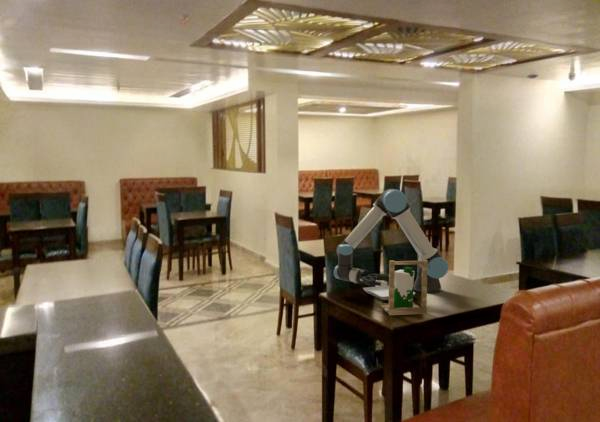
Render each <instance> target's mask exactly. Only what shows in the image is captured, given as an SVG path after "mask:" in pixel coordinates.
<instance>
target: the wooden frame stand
mask: <svg viewBox="0 0 600 422" xmlns="http://www.w3.org/2000/svg"><path fill="white" fill-rule="evenodd" d="M388 263H389V264H388V268H389V269H388V275H389V281H388V286H389V300H388V303H386V302H383V303H382V302H381V303H379V306H380V307H381V308H382V309H383V310H384V311H385V312H386V313H387V314H388V315H389V316H402V315H403V316H406V315H407V316H409V315H427V314H428V308H427V295H428V293H427V266H428V260H422V261H418V260H399V261H398V260H397V261H396V260H393V259H392V260H389V261H388ZM418 264H422V280H421V292H420V306H419V305H418V304H417V303H415V302H413V307H412V308H394V274H395V271H396V270H395V268H396V267H395V266H396V265H397V266H398V265H399V266H401V265H406V266H407V265H418Z"/></svg>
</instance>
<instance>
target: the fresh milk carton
mask: <svg viewBox="0 0 600 422" xmlns="http://www.w3.org/2000/svg"><path fill="white" fill-rule="evenodd" d="M414 278H415V270H413V267H411V266H405V267H403V269H398V270H395V274H394V308H412V307H413V303H414V295H413V292H414V283H415V279H414Z"/></svg>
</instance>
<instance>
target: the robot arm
mask: <svg viewBox="0 0 600 422" xmlns="http://www.w3.org/2000/svg"><path fill="white" fill-rule="evenodd" d="M407 199H408V198H407V196H406V195H405V193H404V192H403V191H401V190H399V189H393V188H387V189H386V190H384V191H383V192H381V194H380V195H378V198H377V199H376V200H375V201H374V202H373V203H372V206H373V207H371V209H370V210H369V211H368V212H367V214H366V215H365V216H364V217H363V218H362V219H361V220H360V221H359V223H358V224H357V225H356V226H355V227H354V228H353V229H352V231H351V232H349V234H348V236H346V238H344V240H343V241H342V242H341V243H340V244H338V245H337V247H336V250H335V251H336V252H335V253H336V255H337V256H338V259H337V260H338V261H337V262H338V264H337V265H336V266H335V267H334V269H333V276H334V278H335V279H338V280H341V281H346V282H351V283H354V284H360V285H367V286H368V287H377V286H380V287H385V288H387V286H388V282H389V274H383V273H370V272H369V271H368V270H366V269H361V268H357V267H356V268H355V267H353V251H354V250H355V249H356V248H357V246H358V245H360V243H361V242H362V241H363V240H364V238H365V237H366V236H367V235H368V234H369V233H370V232H371V230H372V229H374V227H375V226H376V225H377V223H379V221H380V220H381V219H382V218H383V217H384V216H387V215H388V214H389V216H390V217H391V219H394V220H395V221H396V222H397V224H398V225H399V227H400V228H401V230H402V231H403V233H404V234H405V236H406V238H407V239H408V240H409V242H410V244H411V245H412V247H413V249H414V250H415V252H416V253H417V261H422V260H428V266H427V294H434V293H435V294H436V293H440V292H442V285H441V282H440V279H441V278H443V277H445V276H446V274H448V271H449V264H448V261H447V260H446V259H445V258H444V257H443V256H442V254H441V253H440V251H439V250H438V249H437V248H435V247H433V246H432V243H431V242H430V241H429V239H428V237H427V236H426V234H425V232H424V231H423V230H422V228H421V227H420V224H419V223H418V221H417V220H416V219H415V217H414V215H413V213H412V212H411V205H410V203H409V202H408V200H407ZM416 275H417V276H416V279H415V280H414V283H413V291H416V292H420V293H421V280H422V264H417V274H416Z"/></svg>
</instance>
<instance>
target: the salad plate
mask: <svg viewBox="0 0 600 422" xmlns="http://www.w3.org/2000/svg"><path fill="white" fill-rule="evenodd" d="M362 290H364V292H365V293H367V294H368V295H369V294H370V295H371V296H373V297H376V298H377V299H379V298H380V299H379V300H382V301H389V285H387V288H385V287H380V286H375V287H372V286H368V287H362ZM415 295H416V292H415V291H413V296H415Z"/></svg>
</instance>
